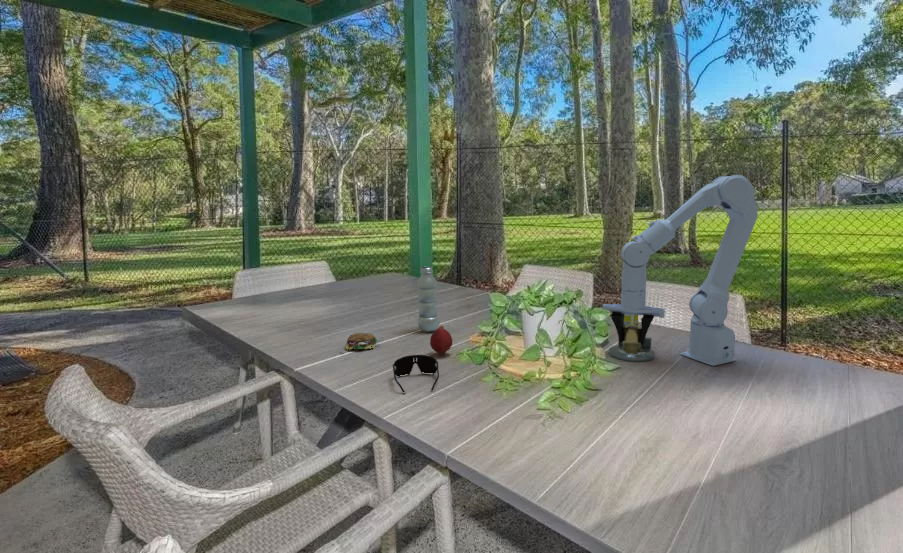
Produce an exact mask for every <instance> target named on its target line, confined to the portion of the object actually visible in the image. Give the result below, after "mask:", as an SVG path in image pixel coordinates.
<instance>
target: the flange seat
mask: <svg viewBox="0 0 903 553" xmlns="http://www.w3.org/2000/svg"><path fill="white" fill-rule="evenodd" d="M652 342H653V341H652V337H647V336H646V337H645V343H644V345H642V351H641V352H639V353H629V352H625V351H623V341H622V342H619V341H618V342H617V343H618V345H613V346H611V347H610V348H608V354H609V356H610V357H612V358H614V359H615V360H616V359H617V360H621V361H625V362H633V363H634V362H635V363H641V362H649V361H652V360H654V359H655V358H656V352H655V351H654V350H653V349H652Z"/></svg>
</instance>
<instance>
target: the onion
mask: <svg viewBox="0 0 903 553" xmlns="http://www.w3.org/2000/svg"><path fill="white" fill-rule="evenodd" d="M444 327H445V326H444V325H443V324H442V325H441V324H440V325H439V326H438V328H437V330H435V331H432V333H431V336H430V338H429V339H430V341H429V344H430V347H431V349H432V350H433V351H435V352H436V353H438V354H439V355H441V354H443V355H445V354H446V353H447V351H449V350H450V349H451V347H452V346H453V337H452V334H451V333H450V332H449V331H448V330H447V329H445V328H444Z"/></svg>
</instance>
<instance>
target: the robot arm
mask: <svg viewBox="0 0 903 553" xmlns="http://www.w3.org/2000/svg"><path fill="white" fill-rule="evenodd" d="M755 192H756V189H755V187H754V186H753V184H752V183H751V182H750V181H749V179H748V178H747V177H745V176H743V175H740V174H735V175H734V174H733V175H730V176H729V175H728V176H727V175H721V176H718V177H716V178H714V179H713V180H712V181H711V183H707V184H706V185H704V186H703V187H702V188H700V189H699V190H698V191H696V193H694V194H693V195H692V196H691V197H689V199H688V200H687V201H685V202H684V203H683V204H682V205H681V206H680V207H679V208H678V209H677V210H675V211H674V212H673V213H672V214H671V215H669V217H667V218H666V219H662V218H661V219H659V218H658V219H656V221H654V220H651V221H650V222H649V223H648V227H647V228H646V229H644V230H643V231H642V232H641V233H639V234H638V235H636V234H635V235H634V236H633V237H632V239H633V240H632V241H628V242H626V243H625V244H624V245H623V246H622V249H621V251H620V257H621V258H622V260H623V261H622V271H621V293H620V295H621V297H620V298H621V301H620V303H617V304H616V303H613V304H612V303H611V304H610V303H603V305H602V310H603V309H607V310H609V311H610V313H611V315H610V317H611V320H612V323H613V324H614V326H615V329H616V332H617V336H618V342H622V341H623V325H624V314H632V315H638V316H641V319H640V320H641V344H642V345H644V343H645V337H647V336H646V335H647V333H648V330H649V329H650V326H651V324H652V322H653V321H654V318H655V317H658V318H661V319H662V318H663V319H664V318H665V312H666V309H665V308H661V307H655V306H648V305H646V302H647V301H646V299H647V297H646V296H647V274H648V272H647V264H648V262H649V260H650V256H651V255H653V254H655V253H656V252H658V251H659V250H661V249H662V248H663V247H664V246H665V245H667V244H668V243H669V242H670V241H672V240H673V239H674V238H675V237H676V230H677V229H678V228H680V227H682V225H683V224H684V223H686V222H687V221H689V220H690V219H692V218H693V217H695V215H697V214H698V213H700V212H701V211H703V210H704V209H705V208H709V207H714V206H719V205H720V206H721V207H722V208H723V210H724V211H725V213H726V214H727V216H728V218H729V221H728V223H727V225H726V227H725V228H726V229H725V231H724V234H723V236H722V239H721V241H720V244H719V246H718V248H717V250H716V253H715V256H714V259H713V261H712V263H711V265H710V269H709V272H708V274H707V276H706V278H705V281H704V282H702V283H701V285H700V286H699V288H698V291H697V292H695V294H694V295H692V296H691V298H690V300H689V304H688V306H689V309H690V311H691V313H693V314H692V317H691V318H690V324H689V325H690V326H689V327H690V328H689V344H688V347H689V348H688V350H687V351H683V352H680V355H681V356H684V357H687V358H689V359H692V360H695V361H698V362H700V363H704V364H707V365H710V366H712V367H713V366H718V365H723V364H727V363H731V362H736V361H737V358H735V344H736V335H735V331H734V330H733V329H732V328H730V327H727V325H725V320H726V319H727V317H728V312H729V310H728V303H729V300H730V289H729V288H730V286H731V284H732V281H733V278H734V276H735V274H736V271H737V268H738V266H739V263H740V261H741V258H742V256H743V254H744V252H745V248H746V246H747V243H748V242H749V239H750V237H751V233H752V231H753V229H754V227H755V225H756V222H757V220H758V215H759V214H758V210H757V203H756V199H755V194H756V193H755Z"/></svg>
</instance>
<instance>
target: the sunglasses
mask: <svg viewBox="0 0 903 553" xmlns="http://www.w3.org/2000/svg"><path fill="white" fill-rule="evenodd" d="M415 364H416V365H417V367H418V370H419V371H420V373H421V374H422V372H424V373H435V374H437V376H436V379H435V380H434V382H433V384H432V387H431V388H430V391H431V390H433V391H434V388H435V386H436V384H437V382H438V380H439V377H440V371H439V369H440V368H439V361H437V359H436V358H435V357H433V356H431V355H430V356H429V355H427V354H410V355H405V356H402V357H399V358H398V359H396V360H395V361H394V363H393V364H392V372H393V378H394V381H395V382H396V383H397V385H398V386H399V388H400V389H401V391H402V393H403V392H405V390H404V388H403V386H402V385H401V384H400V382H399V381H398V379H397V376H400V375H405V374H410V375H411V372H412V371H413V368H414V366H415ZM405 393H406V392H405Z"/></svg>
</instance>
